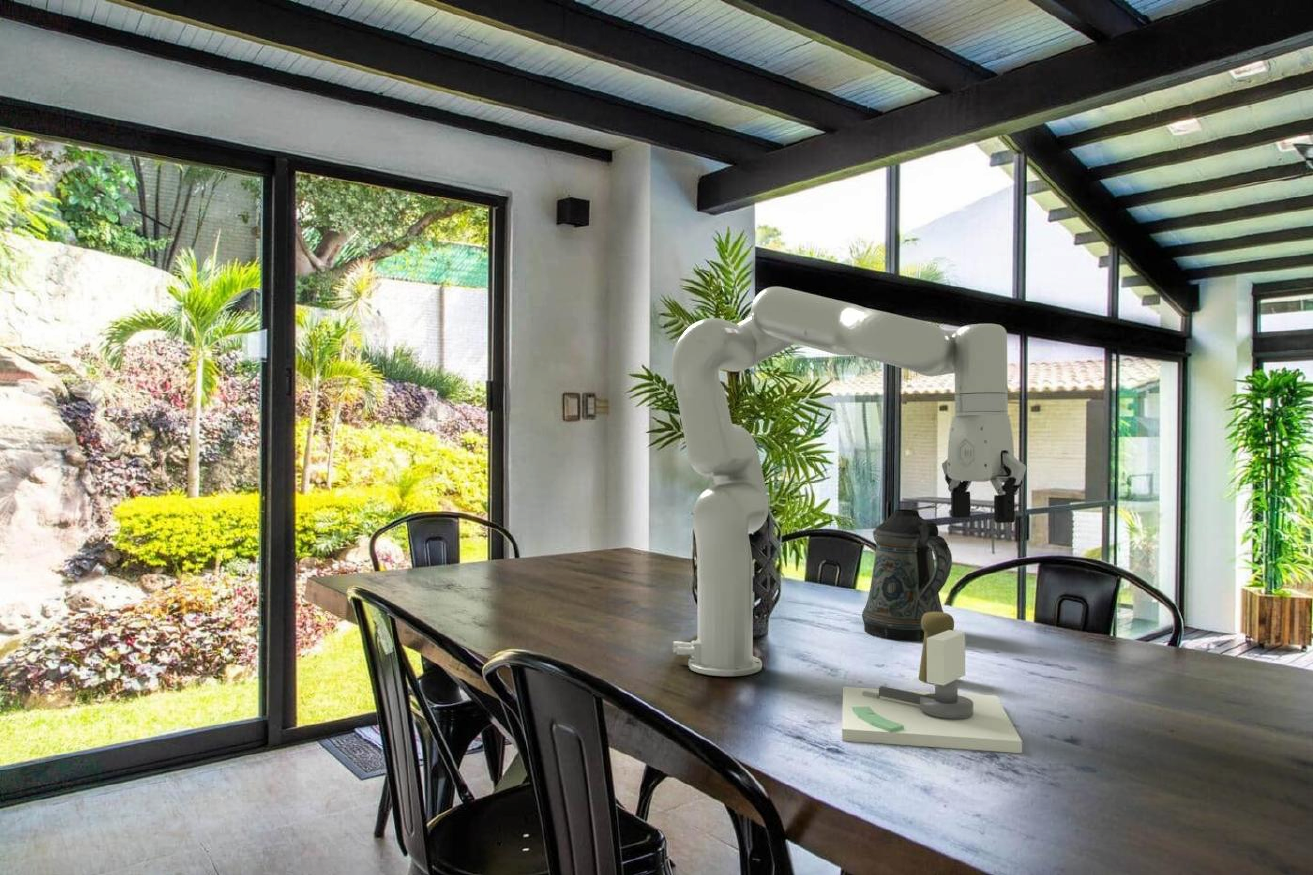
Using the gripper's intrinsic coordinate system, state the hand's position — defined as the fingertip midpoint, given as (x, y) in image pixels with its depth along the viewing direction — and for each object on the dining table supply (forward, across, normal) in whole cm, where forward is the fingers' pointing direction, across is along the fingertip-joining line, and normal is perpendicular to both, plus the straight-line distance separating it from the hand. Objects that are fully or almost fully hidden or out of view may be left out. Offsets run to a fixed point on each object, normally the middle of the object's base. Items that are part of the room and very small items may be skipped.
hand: (981, 519), depth 132 cm
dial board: (+27, +6, -15) cm, 32 cm away
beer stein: (+27, -42, +17) cm, 53 cm away
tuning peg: (+25, +5, -14) cm, 29 cm away
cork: (+27, -12, 0) cm, 30 cm away
